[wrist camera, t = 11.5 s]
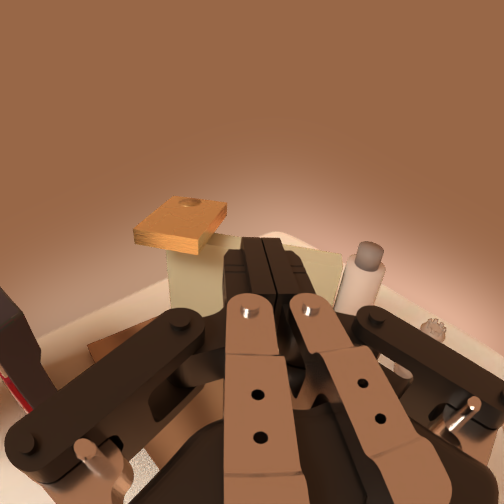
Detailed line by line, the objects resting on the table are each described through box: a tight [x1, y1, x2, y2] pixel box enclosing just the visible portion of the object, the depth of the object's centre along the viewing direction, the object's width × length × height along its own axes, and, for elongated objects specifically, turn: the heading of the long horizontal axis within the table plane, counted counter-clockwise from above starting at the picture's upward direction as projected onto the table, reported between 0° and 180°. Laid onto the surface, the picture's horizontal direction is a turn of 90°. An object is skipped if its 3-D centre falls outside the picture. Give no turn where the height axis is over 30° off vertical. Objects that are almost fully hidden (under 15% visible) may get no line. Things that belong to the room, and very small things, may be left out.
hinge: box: [166, 233, 386, 351], centre depth 27 cm, size 18×3×16 cm, turn 78°
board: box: [87, 316, 223, 470], centre depth 29 cm, size 24×28×1 cm
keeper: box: [133, 196, 227, 255], centre depth 27 cm, size 7×5×18 cm
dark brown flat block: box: [0, 287, 58, 414], centre depth 19 cm, size 11×4×15 cm, turn 64°
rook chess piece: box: [394, 319, 446, 379], centre depth 29 cm, size 4×4×8 cm
